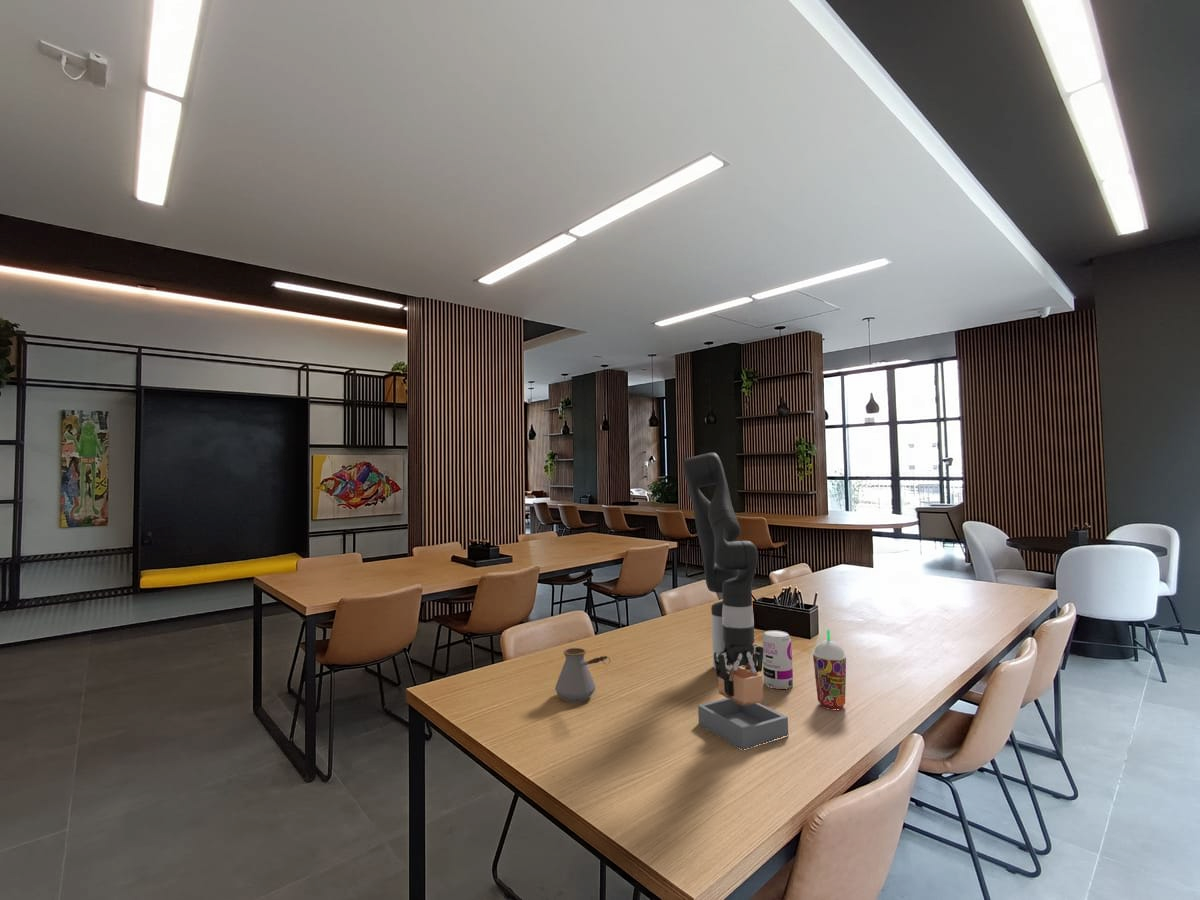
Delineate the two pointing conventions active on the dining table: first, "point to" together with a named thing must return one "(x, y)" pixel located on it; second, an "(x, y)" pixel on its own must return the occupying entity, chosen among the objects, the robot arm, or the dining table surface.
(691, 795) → the dining table surface
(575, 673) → the coffee pot
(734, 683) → the terracotta crate
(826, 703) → the smoothie
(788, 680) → the supplement can
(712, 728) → the grey crate
